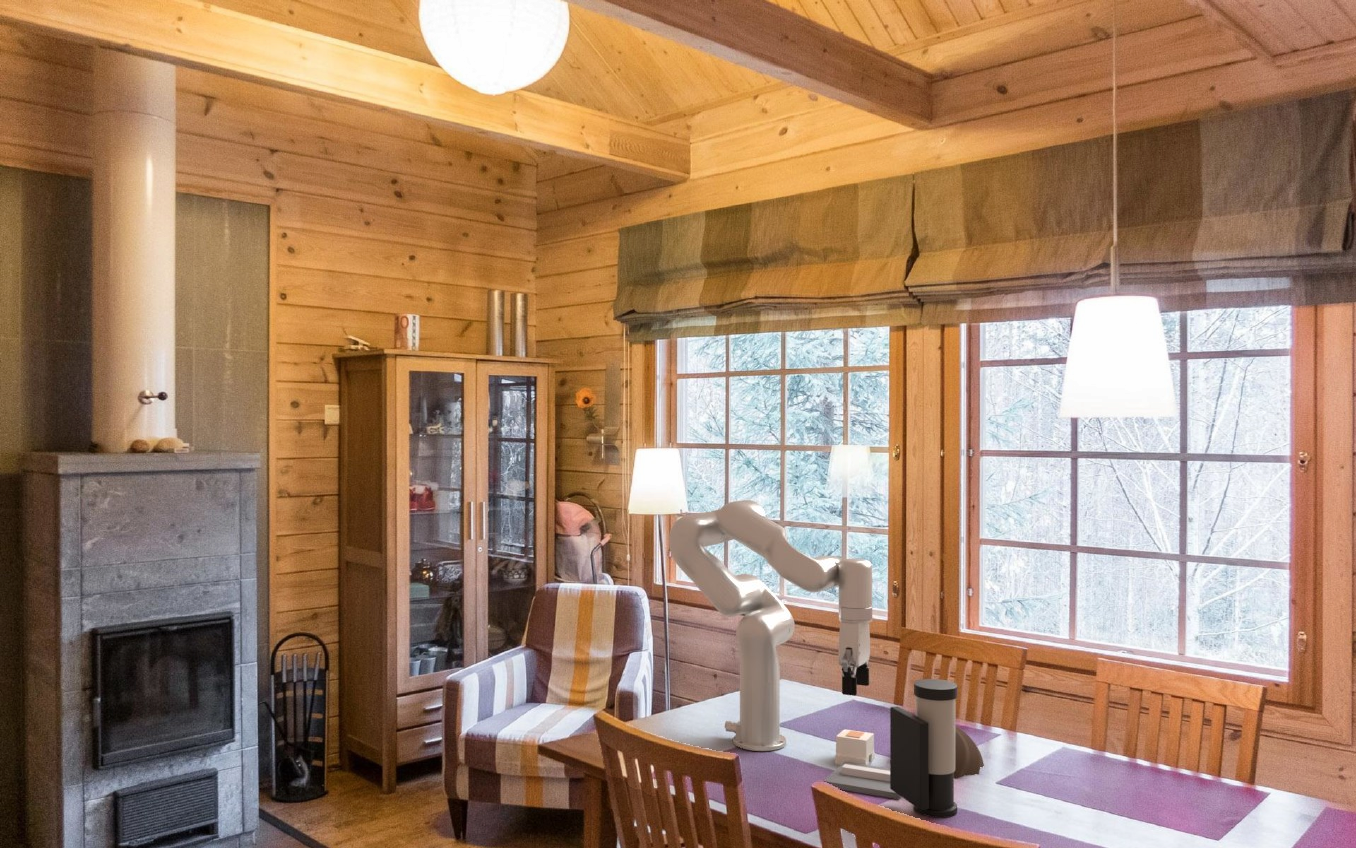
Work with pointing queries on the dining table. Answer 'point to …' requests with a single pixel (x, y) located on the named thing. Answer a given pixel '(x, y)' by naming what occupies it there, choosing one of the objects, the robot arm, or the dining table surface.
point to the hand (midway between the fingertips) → (855, 689)
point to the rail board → (863, 779)
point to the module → (854, 747)
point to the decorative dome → (966, 755)
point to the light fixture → (925, 749)
